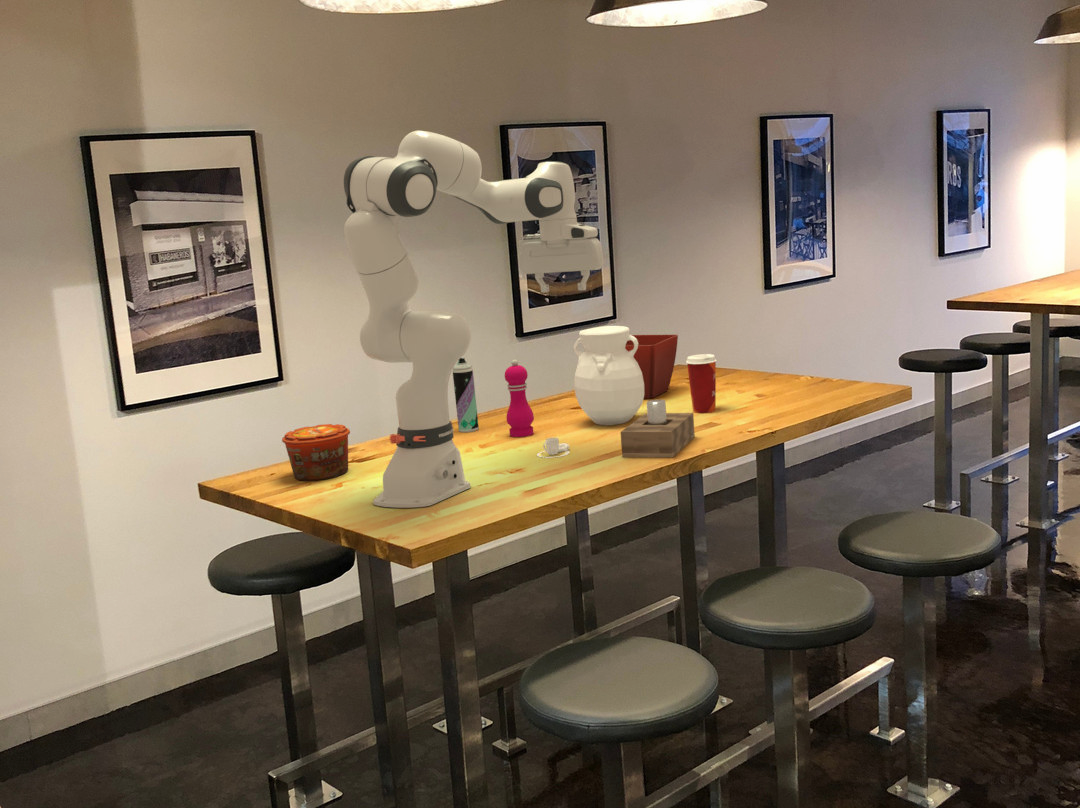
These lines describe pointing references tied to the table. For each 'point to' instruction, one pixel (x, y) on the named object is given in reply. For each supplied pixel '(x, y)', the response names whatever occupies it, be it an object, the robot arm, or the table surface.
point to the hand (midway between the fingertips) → (563, 291)
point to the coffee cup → (702, 382)
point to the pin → (656, 412)
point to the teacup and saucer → (554, 447)
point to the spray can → (465, 396)
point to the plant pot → (655, 361)
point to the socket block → (657, 436)
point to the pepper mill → (518, 402)
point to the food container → (318, 451)
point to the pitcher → (608, 375)
